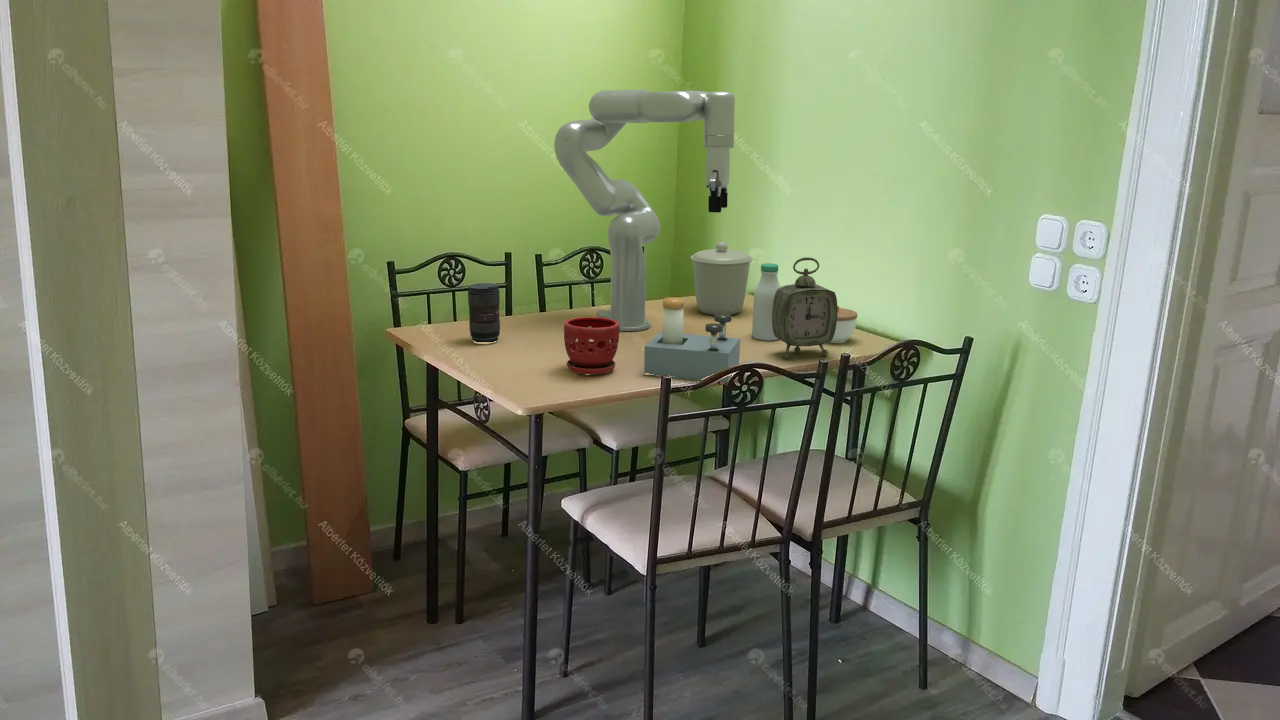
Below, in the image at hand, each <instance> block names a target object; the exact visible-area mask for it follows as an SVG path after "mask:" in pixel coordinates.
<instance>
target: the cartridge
mask: <svg viewBox="0 0 1280 720" xmlns="http://www.w3.org/2000/svg"><path fill="white" fill-rule="evenodd" d="M684 308H685V298H682V297H675V296H673V297H672V296H671V297H664V298H662V332H663V343H665V344H676V345H683V334H684Z"/></svg>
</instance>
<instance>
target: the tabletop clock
mask: <svg viewBox="0 0 1280 720" xmlns="http://www.w3.org/2000/svg"><path fill="white" fill-rule="evenodd" d="M804 261H812V262H814V263H815V264H816V265H817V267H816V268H815V269H813V270H811V271H810V270H809V269H808V268H804V269H803V271H800V270H797V269H796V265H797V264H799V263H800V262H804ZM792 269H793V271H794V272H795V273H796V274H798V275H799V276H798V277H797V278H796V279H795V282H794V283H792V284H786V285H783V286H780V288H778V289H777V291H776V293H775V296H774V300H773V308H772V328H773V333H774V335H775V337H777V338H778V340H780V341H782V342H783V343H785V344H786V348H785V352H784V353H783V354H782V357H783V359H784V360H786V359H789V358H790V354H789V350H790V348H791V347H794V349H793V351H794V352H795V353H796V354H799V353H800V352H801V347H813V346H819V347H820V349H821V355H822V356H823V357H825V356H826V357H827V356H828V354H829V351H828V350H827V349H825V348H824V345H825V344H828V343H829V342H830V341H832V339H833V336H834V334H835V330H836V323H837V306H838V299H837V294H836V292H835V291H833V290H831V289H828V288H825V286H821V285H819V284H816V280H815V279H814V277H812V276H811V275H812V274H814V273H816V272H817V271H818V270H819V269H820V262H819V261H818V260H817V259H816V258H813V257H807V256H806V257H802V258H799V259H797V260H796V261H795V262H793V266H792Z"/></svg>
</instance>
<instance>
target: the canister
mask: <svg viewBox="0 0 1280 720" xmlns="http://www.w3.org/2000/svg"><path fill="white" fill-rule="evenodd" d="M728 247H729V245H728V243H727V242H726V241H717V243H716V244H715V248H711V249H710V248H709V249H704V250H699V251H697V252H695V253H694V254H692V255H690V260H691V262H692V267H693V268H692V269H693V279H694V280H693V281H694V290H695V302H696V306H697V308H698V310H699V311H700V312H701V313H703V314H706V315H711V316H715V315H716V314H729V315H731V316H732V315H736V314H738V313H740V312H741V311H742V309H743V307H744V303H745V297H746V291H747V287H748V286H747V285H748V281H749V280H748V278H749V272H750V265H751V262H752V261H753V256H751V255H749V254H748V253H747V252H744V251H741V250H738V249H737V250H735V249H728Z"/></svg>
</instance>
